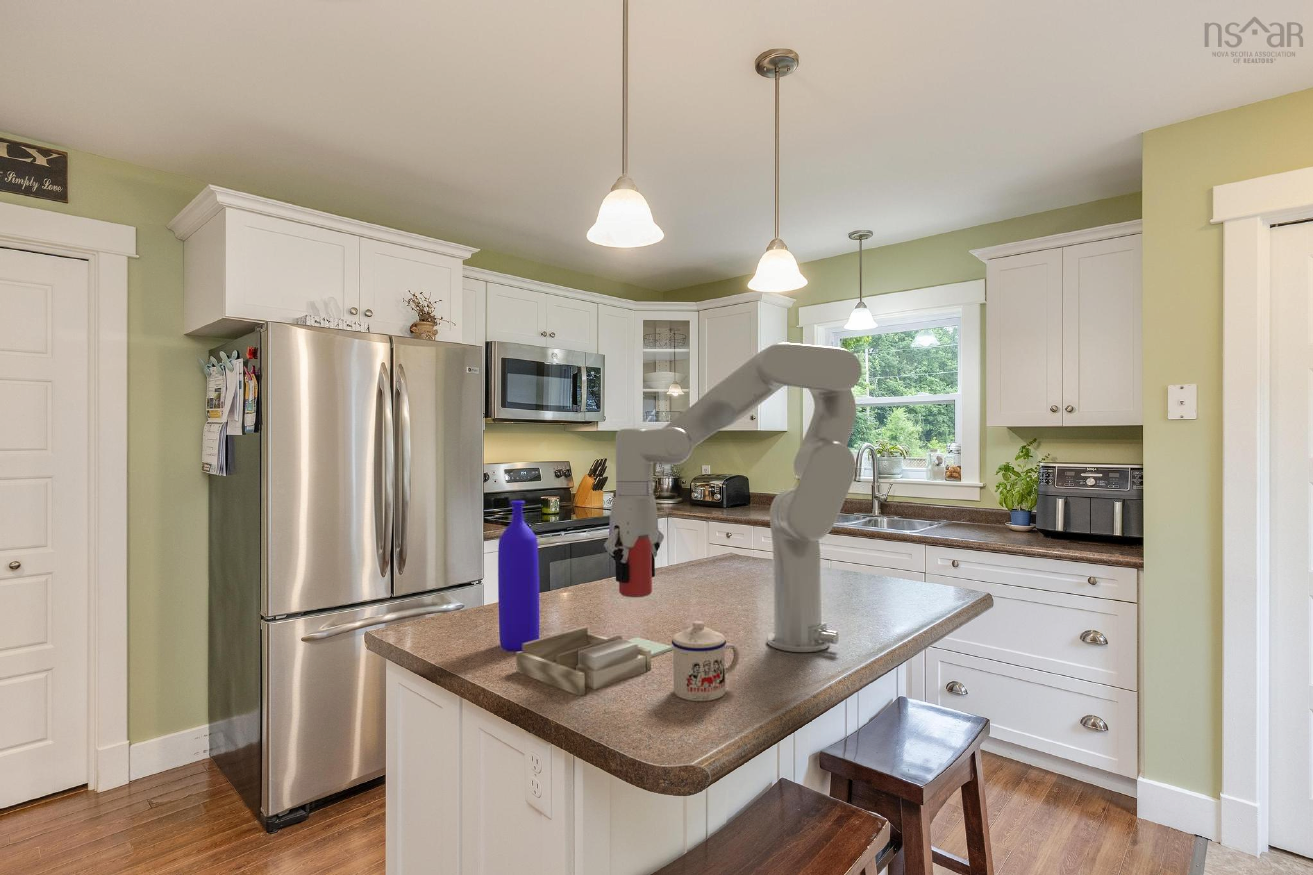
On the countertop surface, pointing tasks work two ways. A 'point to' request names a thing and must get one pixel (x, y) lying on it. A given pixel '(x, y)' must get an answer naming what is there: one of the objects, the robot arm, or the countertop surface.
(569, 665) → the tray
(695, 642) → the teacup with lid
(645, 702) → the countertop surface
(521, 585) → the bottle
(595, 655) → the offcut stack
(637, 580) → the beer can
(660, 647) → the mat
